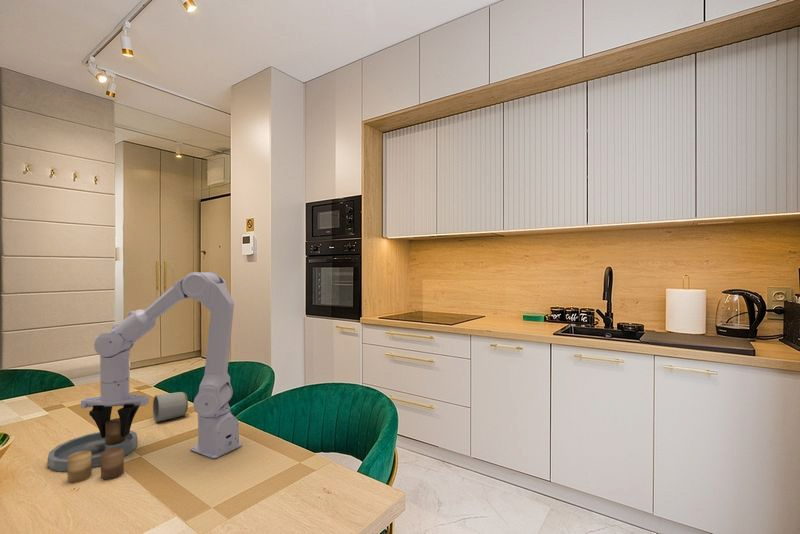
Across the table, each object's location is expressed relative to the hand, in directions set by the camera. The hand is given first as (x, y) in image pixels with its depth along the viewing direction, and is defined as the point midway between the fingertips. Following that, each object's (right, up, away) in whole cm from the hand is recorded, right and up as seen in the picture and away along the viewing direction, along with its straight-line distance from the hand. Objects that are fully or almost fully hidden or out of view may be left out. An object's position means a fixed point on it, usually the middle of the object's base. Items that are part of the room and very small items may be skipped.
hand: (115, 435), depth 96 cm
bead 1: (+1, -4, -11) cm, 12 cm away
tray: (-5, -4, 0) cm, 6 cm away
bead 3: (+7, -4, -10) cm, 13 cm away
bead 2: (0, -1, 0) cm, 1 cm away
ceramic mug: (-1, -5, +23) cm, 23 cm away
